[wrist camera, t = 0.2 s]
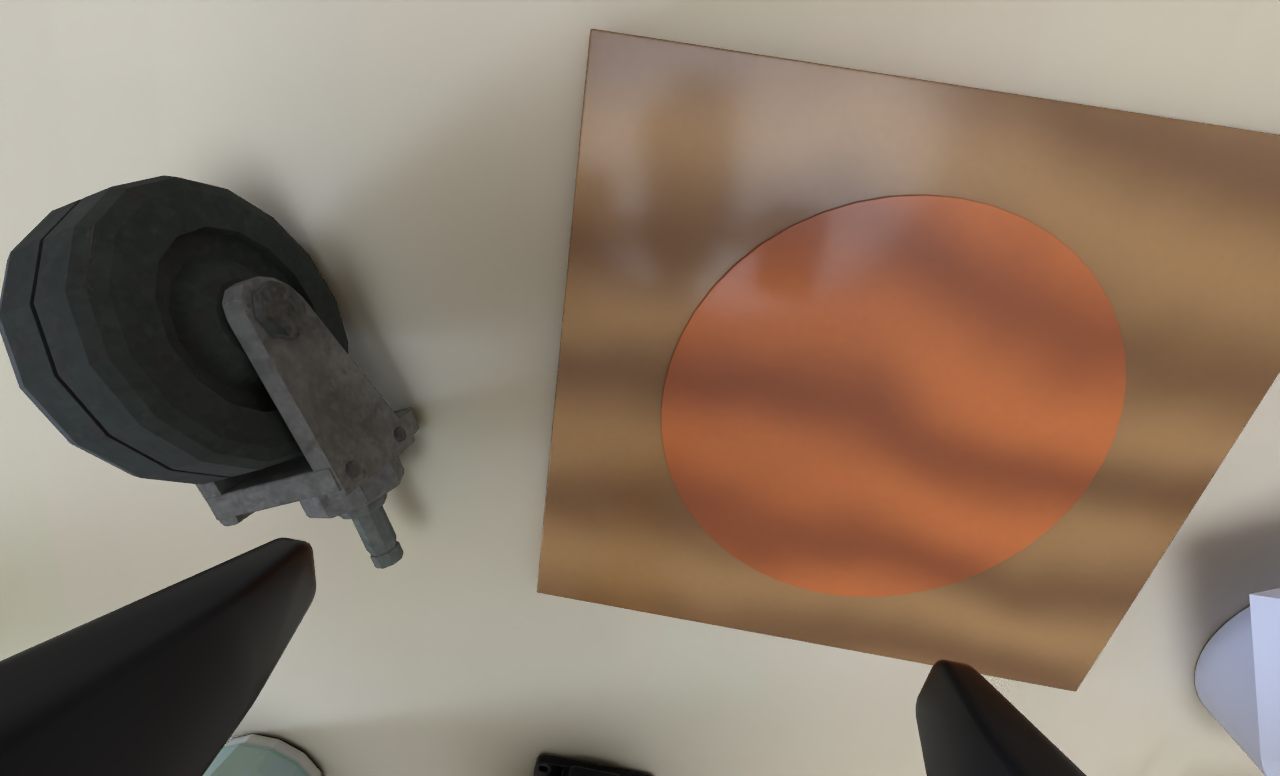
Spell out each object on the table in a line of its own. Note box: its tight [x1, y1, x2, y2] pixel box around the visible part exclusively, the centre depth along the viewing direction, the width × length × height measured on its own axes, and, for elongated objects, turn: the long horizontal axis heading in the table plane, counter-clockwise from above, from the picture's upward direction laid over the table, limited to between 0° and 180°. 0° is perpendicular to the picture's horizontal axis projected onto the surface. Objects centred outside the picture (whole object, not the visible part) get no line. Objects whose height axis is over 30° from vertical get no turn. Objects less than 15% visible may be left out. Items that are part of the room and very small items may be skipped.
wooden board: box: [537, 29, 1280, 691], centre depth 22 cm, size 22×24×1 cm
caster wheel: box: [0, 176, 419, 569], centre depth 20 cm, size 6×10×15 cm
